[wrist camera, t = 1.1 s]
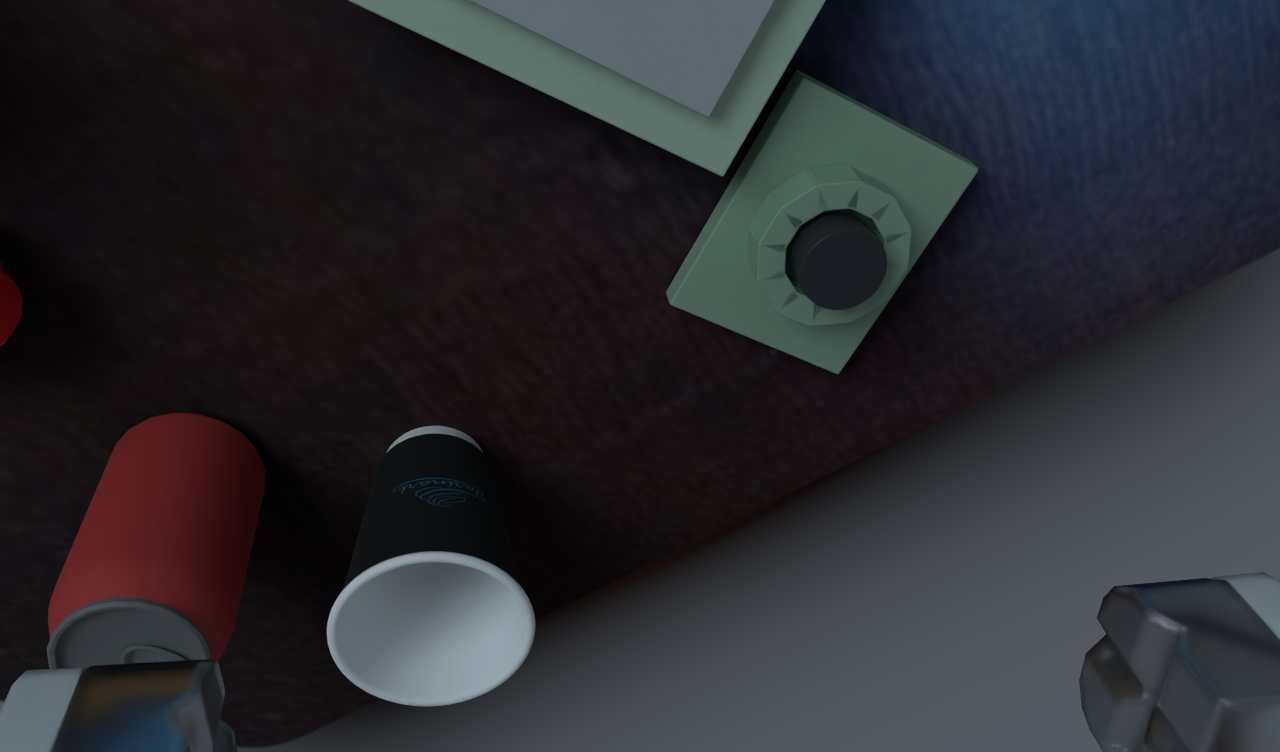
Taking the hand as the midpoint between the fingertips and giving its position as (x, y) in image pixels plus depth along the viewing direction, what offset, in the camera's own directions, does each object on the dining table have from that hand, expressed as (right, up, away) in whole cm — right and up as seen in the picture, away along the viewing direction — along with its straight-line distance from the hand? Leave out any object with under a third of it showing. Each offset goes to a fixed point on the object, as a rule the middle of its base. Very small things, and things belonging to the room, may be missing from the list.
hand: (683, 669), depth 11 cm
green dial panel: (+7, +9, +39) cm, 41 cm away
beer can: (-21, -1, +41) cm, 46 cm away
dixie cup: (-10, -1, +43) cm, 44 cm away
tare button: (+8, +8, +37) cm, 39 cm away
